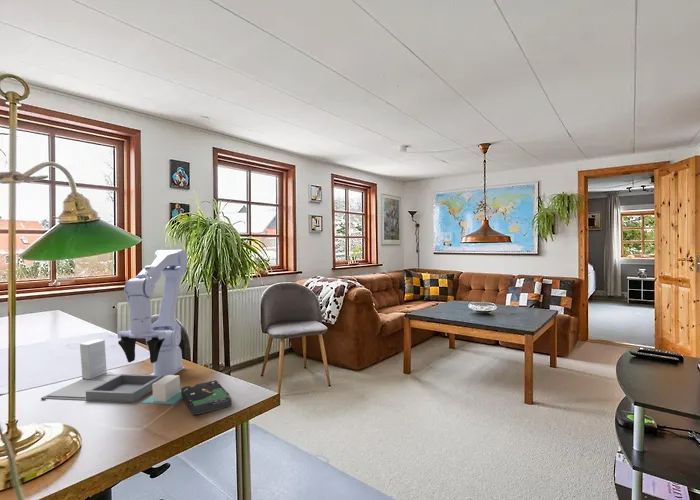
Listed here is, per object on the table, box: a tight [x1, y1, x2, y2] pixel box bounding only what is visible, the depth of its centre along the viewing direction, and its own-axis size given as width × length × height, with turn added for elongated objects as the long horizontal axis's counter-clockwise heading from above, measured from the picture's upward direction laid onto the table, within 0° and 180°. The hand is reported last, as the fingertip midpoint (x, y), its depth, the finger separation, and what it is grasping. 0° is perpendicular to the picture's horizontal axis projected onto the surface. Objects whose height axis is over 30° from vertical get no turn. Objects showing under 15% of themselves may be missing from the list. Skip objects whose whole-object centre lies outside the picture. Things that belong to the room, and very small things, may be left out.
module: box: [152, 374, 181, 402], centre depth 112 cm, size 7×4×5 cm, turn 172°
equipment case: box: [40, 373, 163, 404], centre depth 117 cm, size 14×30×3 cm, turn 82°
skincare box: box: [79, 338, 107, 380], centre depth 131 cm, size 6×4×12 cm
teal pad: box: [140, 388, 184, 406], centre depth 112 cm, size 10×10×1 cm
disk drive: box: [180, 380, 232, 415], centre depth 108 cm, size 10×3×15 cm
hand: (142, 361), depth 116 cm, fingers open, 7 cm apart
